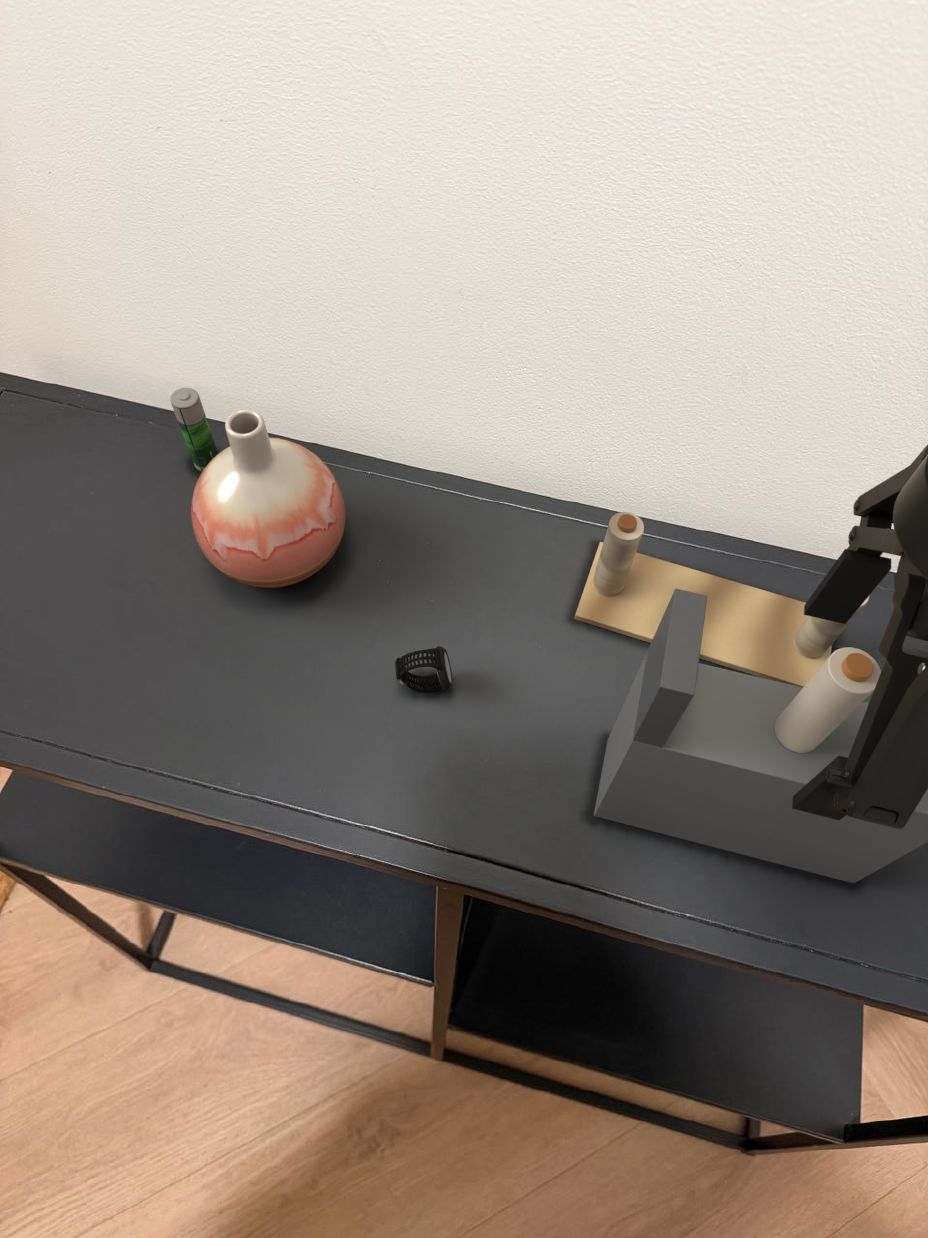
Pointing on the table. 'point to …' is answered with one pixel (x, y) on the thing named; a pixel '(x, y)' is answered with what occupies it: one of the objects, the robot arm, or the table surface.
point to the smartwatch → (440, 665)
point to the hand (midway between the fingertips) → (820, 705)
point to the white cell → (827, 699)
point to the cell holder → (734, 618)
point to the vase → (266, 507)
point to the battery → (194, 426)
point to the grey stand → (731, 763)
